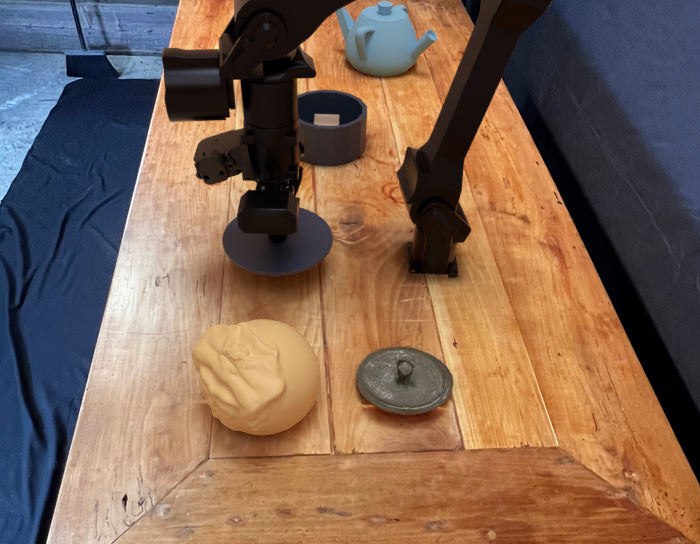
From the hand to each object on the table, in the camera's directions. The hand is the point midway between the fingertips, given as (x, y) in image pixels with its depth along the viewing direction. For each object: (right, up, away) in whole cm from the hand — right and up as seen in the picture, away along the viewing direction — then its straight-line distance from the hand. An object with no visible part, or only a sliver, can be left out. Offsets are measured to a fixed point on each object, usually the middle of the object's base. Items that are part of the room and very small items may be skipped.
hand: (277, 235), depth 77 cm
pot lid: (0, 0, 0) cm, 1 cm away
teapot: (+15, +43, +48) cm, 66 cm away
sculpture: (0, -20, -10) cm, 23 cm away
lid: (+15, -18, -8) cm, 25 cm away
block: (+5, +20, +26) cm, 33 cm away
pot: (+5, +20, +26) cm, 33 cm away
